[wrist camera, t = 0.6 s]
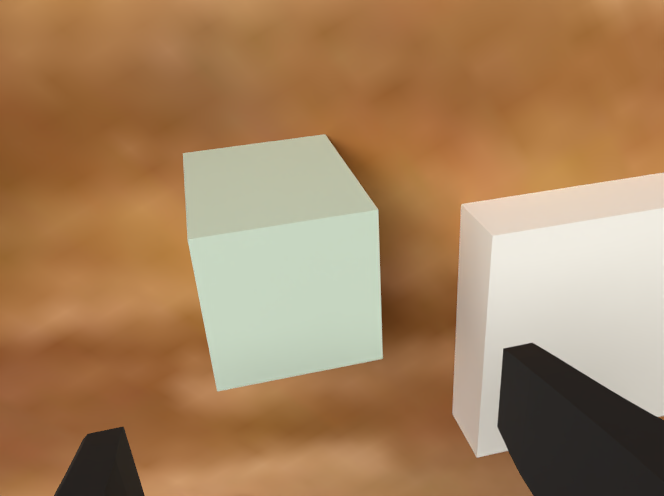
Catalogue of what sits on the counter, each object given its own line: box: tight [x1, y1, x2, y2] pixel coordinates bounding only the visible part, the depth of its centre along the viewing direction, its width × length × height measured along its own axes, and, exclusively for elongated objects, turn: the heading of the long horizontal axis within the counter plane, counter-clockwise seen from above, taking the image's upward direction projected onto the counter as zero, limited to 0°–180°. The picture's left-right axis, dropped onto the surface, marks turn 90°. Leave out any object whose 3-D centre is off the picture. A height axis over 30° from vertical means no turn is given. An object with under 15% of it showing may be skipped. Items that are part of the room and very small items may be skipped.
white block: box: [452, 173, 664, 458], centre depth 25 cm, size 10×10×3 cm
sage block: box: [183, 134, 383, 391], centre depth 18 cm, size 4×4×6 cm
